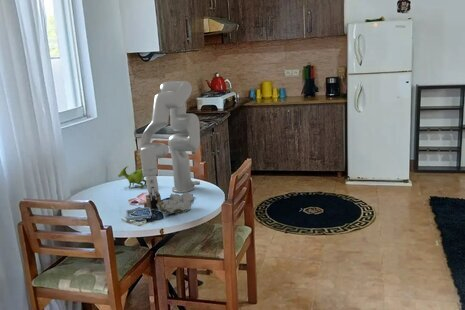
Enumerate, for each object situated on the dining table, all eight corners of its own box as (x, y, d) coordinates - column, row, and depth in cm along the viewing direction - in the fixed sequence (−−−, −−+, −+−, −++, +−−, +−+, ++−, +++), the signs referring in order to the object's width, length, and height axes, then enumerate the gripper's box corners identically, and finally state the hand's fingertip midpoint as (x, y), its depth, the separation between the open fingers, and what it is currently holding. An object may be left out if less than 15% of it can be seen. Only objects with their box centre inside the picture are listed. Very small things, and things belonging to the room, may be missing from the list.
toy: (133, 191, 275) (118, 171, 273) (161, 173, 270) (146, 152, 268) (128, 196, 267) (113, 175, 265) (157, 177, 262) (142, 156, 260)
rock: (171, 226, 216) (166, 212, 210) (157, 216, 222) (152, 201, 216) (200, 204, 225) (197, 189, 219) (187, 194, 232) (183, 180, 226)
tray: (150, 210, 225) (150, 206, 225) (152, 218, 214) (151, 214, 214) (126, 214, 223) (125, 210, 222) (126, 222, 212) (126, 218, 211)
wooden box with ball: (160, 204, 234) (159, 193, 232) (161, 208, 227) (160, 197, 226) (144, 206, 232) (142, 195, 231) (144, 211, 225) (143, 199, 224)
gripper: (159, 174, 218) (163, 210, 222) (156, 166, 235) (160, 199, 239) (143, 176, 216) (147, 212, 220) (141, 168, 233) (145, 201, 237)
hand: (154, 205), depth 229 cm, fingers closed on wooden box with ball, 7 cm apart
